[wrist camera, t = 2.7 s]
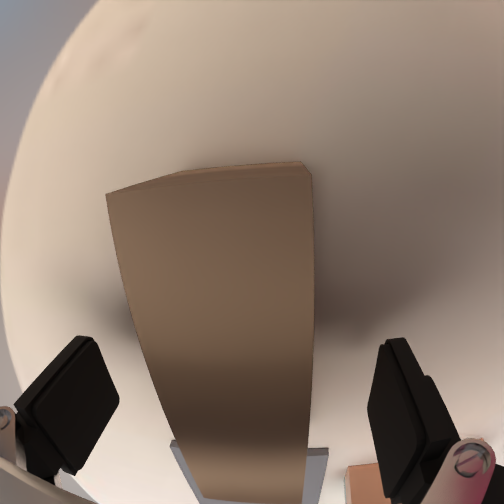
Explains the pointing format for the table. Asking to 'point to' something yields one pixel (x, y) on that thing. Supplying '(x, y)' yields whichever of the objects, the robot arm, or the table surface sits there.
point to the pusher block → (226, 318)
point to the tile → (365, 485)
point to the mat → (310, 499)
